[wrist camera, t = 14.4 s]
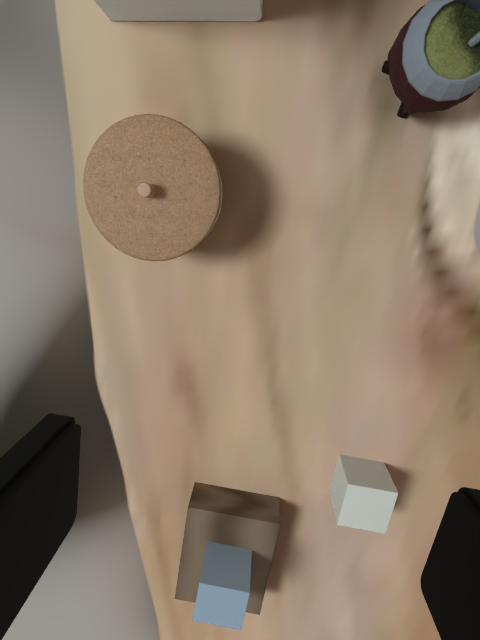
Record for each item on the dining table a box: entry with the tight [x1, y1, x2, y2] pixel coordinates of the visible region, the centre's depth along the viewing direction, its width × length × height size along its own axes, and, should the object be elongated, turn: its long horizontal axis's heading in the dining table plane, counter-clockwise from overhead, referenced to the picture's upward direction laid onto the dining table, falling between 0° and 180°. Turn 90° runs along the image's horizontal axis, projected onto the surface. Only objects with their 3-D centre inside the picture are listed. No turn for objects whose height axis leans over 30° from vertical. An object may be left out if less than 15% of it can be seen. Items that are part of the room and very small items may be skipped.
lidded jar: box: [83, 114, 223, 261], centre depth 33 cm, size 11×11×9 cm
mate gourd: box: [382, 0, 480, 118], centre depth 26 cm, size 8×8×15 cm
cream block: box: [330, 455, 398, 533], centre depth 42 cm, size 5×5×5 cm
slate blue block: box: [192, 541, 252, 630], centre depth 41 cm, size 5×5×5 cm
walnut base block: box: [175, 483, 280, 615], centre depth 45 cm, size 10×13×4 cm
